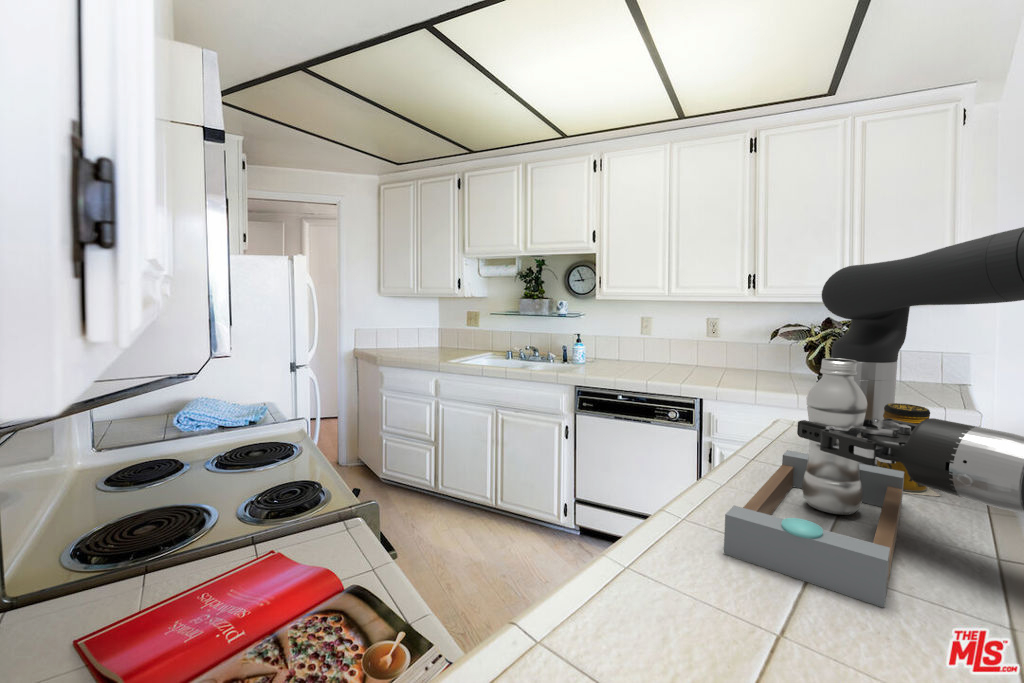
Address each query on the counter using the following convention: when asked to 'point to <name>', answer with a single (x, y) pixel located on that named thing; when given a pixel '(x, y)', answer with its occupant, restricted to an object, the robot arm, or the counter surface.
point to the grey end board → (809, 553)
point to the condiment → (913, 416)
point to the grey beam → (870, 476)
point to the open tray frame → (783, 482)
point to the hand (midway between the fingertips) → (819, 424)
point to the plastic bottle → (838, 405)
